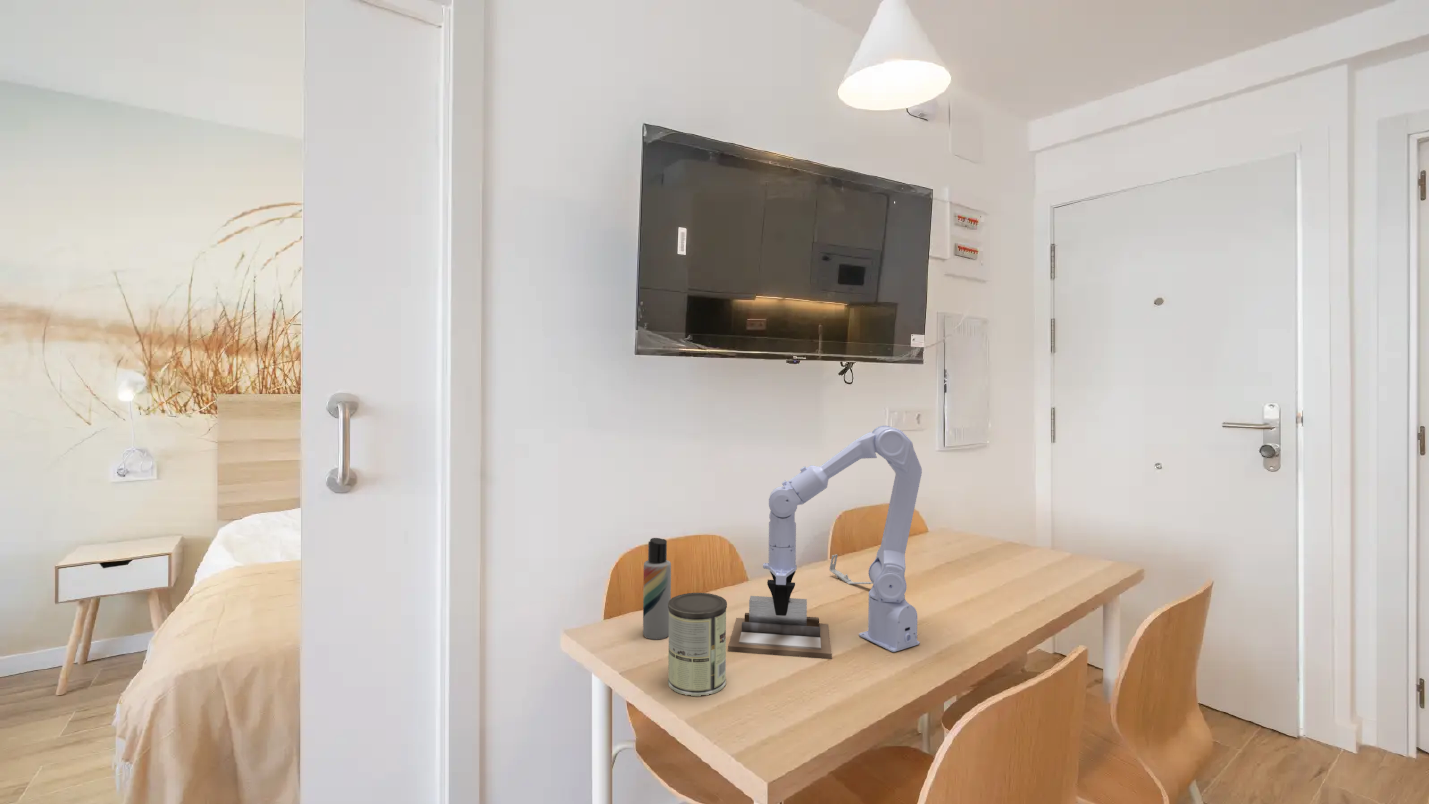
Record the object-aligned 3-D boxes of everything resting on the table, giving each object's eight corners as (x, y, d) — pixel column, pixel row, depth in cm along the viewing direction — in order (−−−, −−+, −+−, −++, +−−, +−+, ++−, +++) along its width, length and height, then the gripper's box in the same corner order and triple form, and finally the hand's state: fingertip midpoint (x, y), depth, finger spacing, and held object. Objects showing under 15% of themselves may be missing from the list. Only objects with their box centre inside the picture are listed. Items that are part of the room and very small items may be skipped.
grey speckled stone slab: (806, 627, 126) (806, 599, 126) (806, 632, 123) (806, 604, 123) (750, 623, 128) (750, 595, 128) (748, 628, 125) (749, 600, 125)
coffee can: (668, 668, 109) (669, 592, 109) (724, 668, 109) (725, 592, 109) (665, 697, 98) (666, 612, 98) (727, 697, 99) (728, 612, 99)
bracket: (871, 582, 152) (832, 555, 164) (867, 602, 153) (828, 574, 165) (876, 581, 153) (837, 554, 165) (872, 601, 154) (833, 573, 166)
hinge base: (828, 628, 128) (828, 614, 128) (831, 658, 113) (831, 643, 113) (736, 622, 131) (736, 608, 131) (728, 651, 116) (728, 636, 116)
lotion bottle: (656, 626, 128) (657, 534, 128) (675, 633, 124) (676, 539, 124) (637, 635, 124) (638, 539, 123) (656, 642, 120) (657, 544, 120)
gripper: (765, 535, 133) (764, 595, 133) (761, 552, 119) (760, 620, 119) (797, 536, 132) (796, 597, 132) (796, 554, 118) (795, 622, 118)
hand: (781, 608), depth 126 cm, fingers open, 7 cm apart
